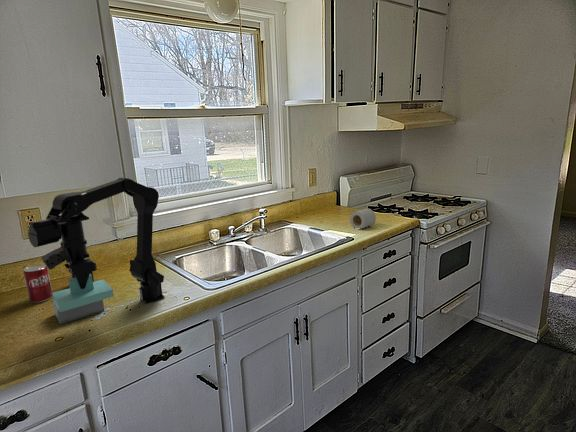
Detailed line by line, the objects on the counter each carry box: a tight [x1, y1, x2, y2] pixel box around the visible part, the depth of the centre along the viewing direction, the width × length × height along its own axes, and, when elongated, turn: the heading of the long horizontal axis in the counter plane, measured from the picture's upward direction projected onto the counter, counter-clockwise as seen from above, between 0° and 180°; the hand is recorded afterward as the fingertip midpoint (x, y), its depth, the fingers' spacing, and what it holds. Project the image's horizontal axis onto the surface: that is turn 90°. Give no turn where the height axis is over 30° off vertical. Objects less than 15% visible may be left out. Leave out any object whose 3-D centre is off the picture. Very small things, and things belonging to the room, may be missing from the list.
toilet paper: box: [349, 208, 377, 230], centre depth 213 cm, size 10×10×10 cm
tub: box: [52, 299, 105, 325], centre depth 127 cm, size 13×9×5 cm
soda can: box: [22, 264, 53, 304], centre depth 137 cm, size 7×7×12 cm
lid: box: [52, 274, 115, 312], centre depth 115 cm, size 14×10×7 cm
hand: (82, 287), depth 115 cm, fingers closed on lid
